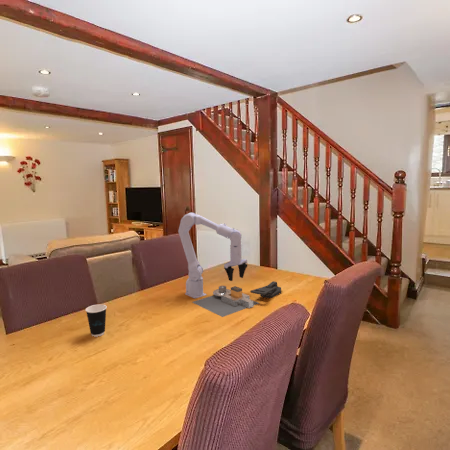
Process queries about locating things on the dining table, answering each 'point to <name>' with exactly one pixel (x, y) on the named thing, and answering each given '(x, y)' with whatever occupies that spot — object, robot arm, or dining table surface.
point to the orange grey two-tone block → (236, 292)
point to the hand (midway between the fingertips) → (236, 278)
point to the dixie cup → (96, 319)
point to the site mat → (219, 306)
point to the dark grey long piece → (268, 290)
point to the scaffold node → (228, 299)
